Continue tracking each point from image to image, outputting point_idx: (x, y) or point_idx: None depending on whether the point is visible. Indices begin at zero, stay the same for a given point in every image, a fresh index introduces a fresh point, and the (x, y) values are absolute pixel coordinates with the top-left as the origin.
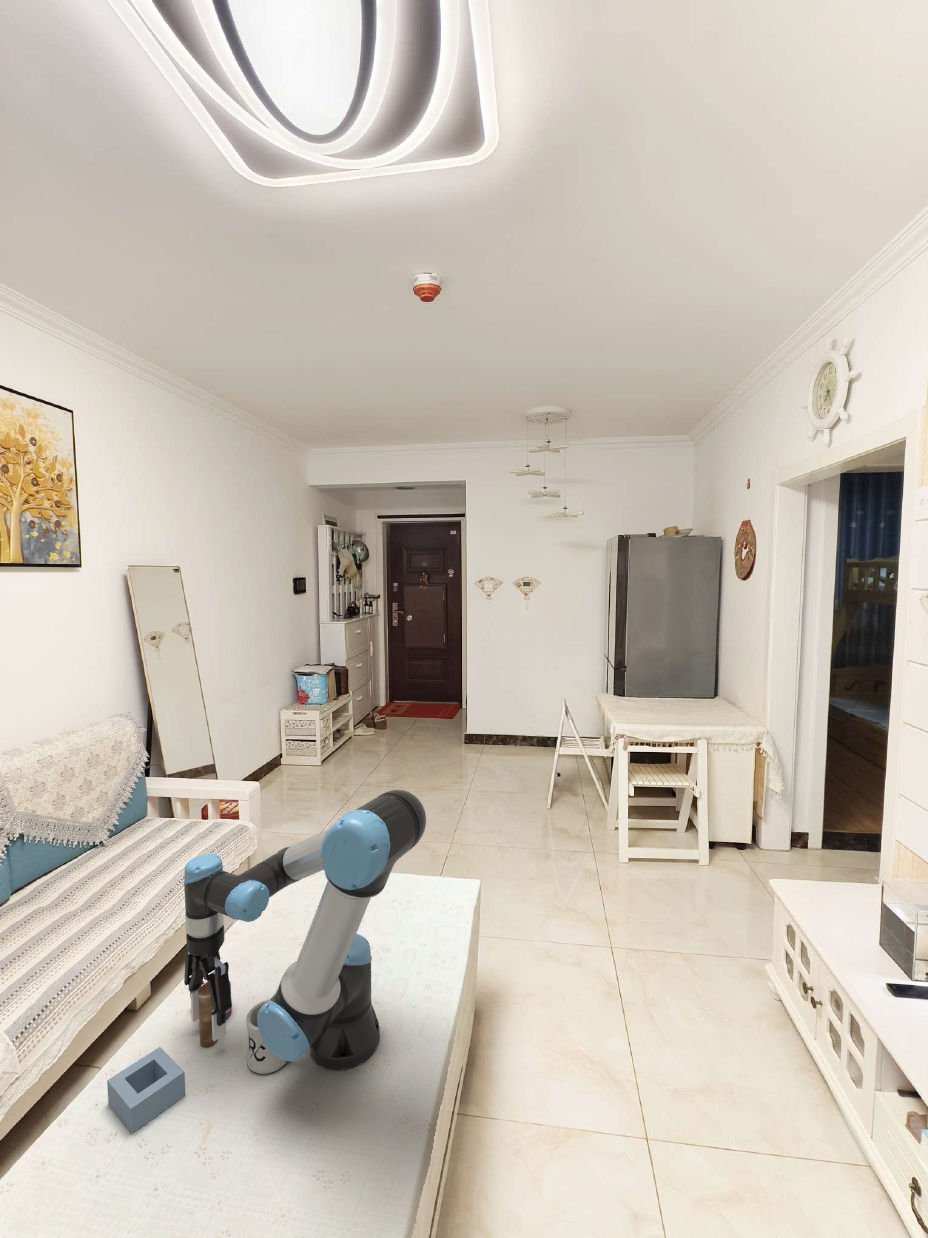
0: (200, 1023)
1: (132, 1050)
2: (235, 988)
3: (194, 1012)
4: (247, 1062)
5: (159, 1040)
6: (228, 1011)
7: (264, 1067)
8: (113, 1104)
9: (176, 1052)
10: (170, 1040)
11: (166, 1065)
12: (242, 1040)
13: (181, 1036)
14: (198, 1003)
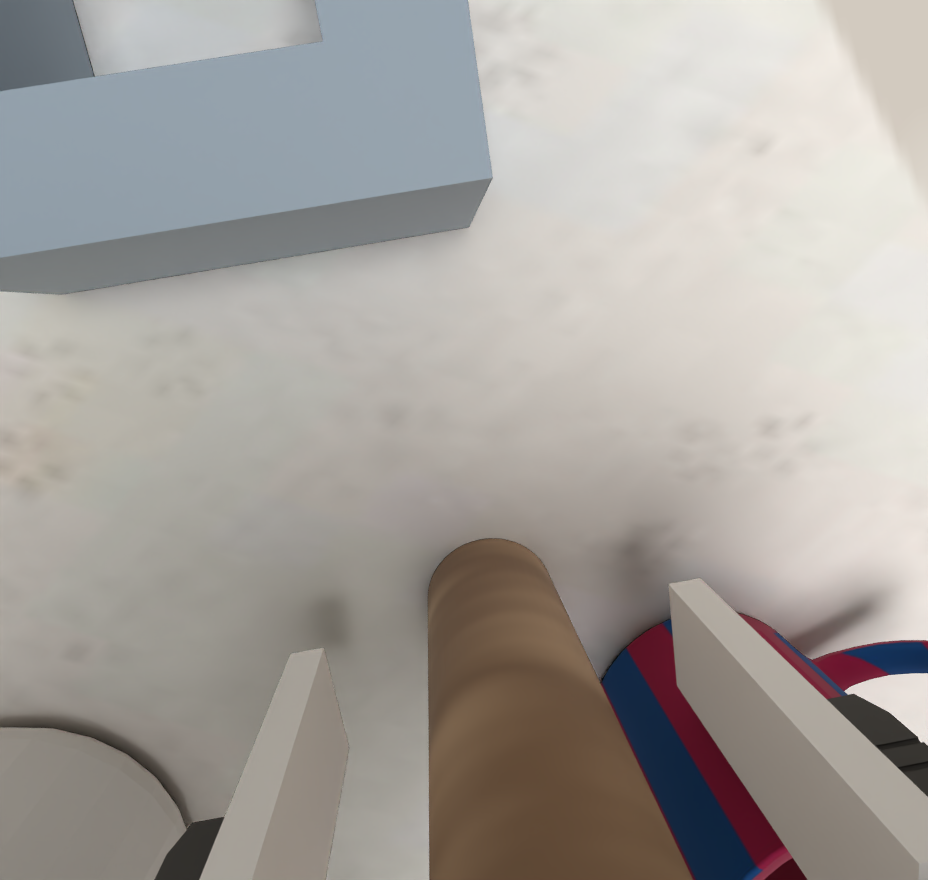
0: (508, 654)
1: (853, 107)
2: None
3: (721, 655)
4: (16, 747)
5: (784, 317)
6: None
7: None
8: None
9: (559, 381)
10: (716, 384)
11: (96, 135)
12: None
13: (691, 460)
14: (770, 762)
